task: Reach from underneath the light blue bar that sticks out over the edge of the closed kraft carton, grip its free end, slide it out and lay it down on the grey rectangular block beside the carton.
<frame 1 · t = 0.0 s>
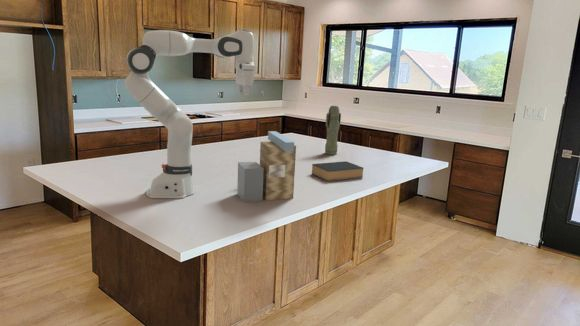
hand: (243, 94, 211), 48 cm above the table, tool pointing down, fingers open, 8 cm apart
carton: (275, 195, 215), on the table
light blue bar: (280, 144, 206), point 26 cm above the table, touching carton
book: (336, 177, 258), on the table
grey rectangular block: (249, 197, 210), on the table
olive piece: (330, 154, 320), on the table
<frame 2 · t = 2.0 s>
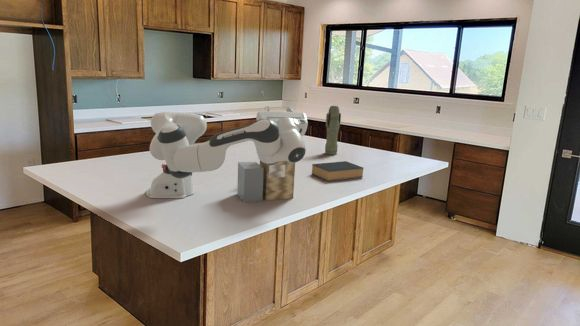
hand: (277, 108, 179), 46 cm above the table, tool pointing upward, fingers open, 8 cm apart
nothing on the table moved.
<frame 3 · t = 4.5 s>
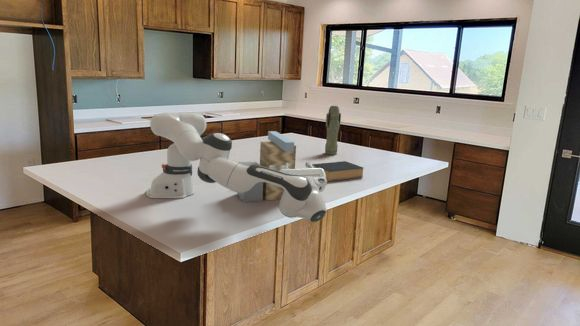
hand: (297, 163, 189), 22 cm above the table, tool pointing upward, fingers open, 8 cm apart
nothing on the table moved.
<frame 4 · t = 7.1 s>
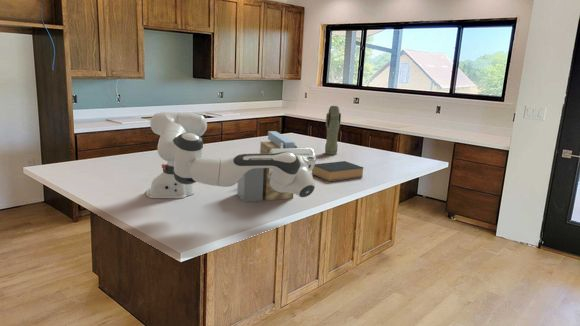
hand: (287, 144, 196), 28 cm above the table, tool pointing upward, fingers closed on light blue bar, 4 cm apart
light blue bar: (280, 144, 206), point 26 cm above the table, touching carton, gripper
everything else where it was.
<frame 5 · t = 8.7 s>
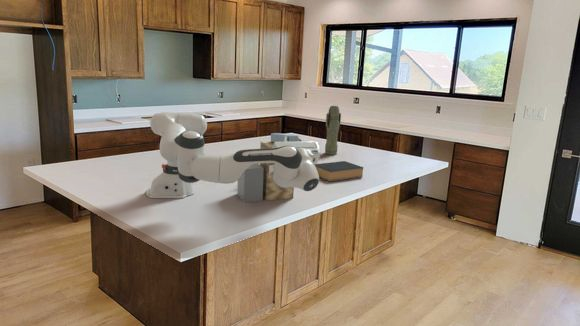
hand: (291, 137, 192), 32 cm above the table, tool pointing upward, fingers closed on light blue bar, 4 cm apart
light blue bar: (283, 143, 202), point 28 cm above the table, tilted 8°, touching gripper
everything else where it was.
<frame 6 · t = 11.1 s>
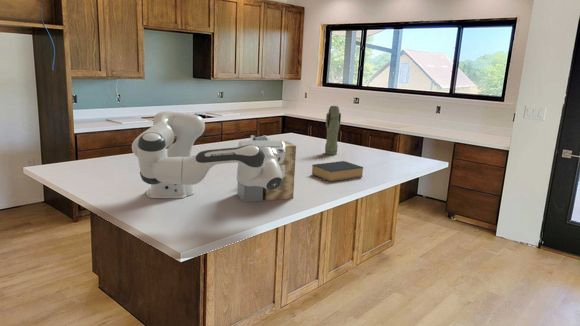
hand: (258, 136, 193), 32 cm above the table, tool pointing upward, fingers closed on light blue bar, 4 cm apart
light blue bar: (253, 154, 201), point 22 cm above the table, tilted 30°, touching grey rectangular block, gripper
everything else where it was.
when the fingers open (20 cm above the table, at t = 14.0 s): light blue bar stays where it is, resting on grey rectangular block.
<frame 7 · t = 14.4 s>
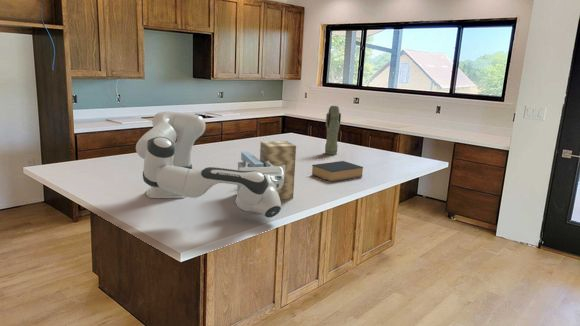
hand: (257, 162, 195), 20 cm above the table, tool pointing upward, fingers open, 8 cm apart
light blue bar: (251, 165, 205), point 16 cm above the table, touching grey rectangular block
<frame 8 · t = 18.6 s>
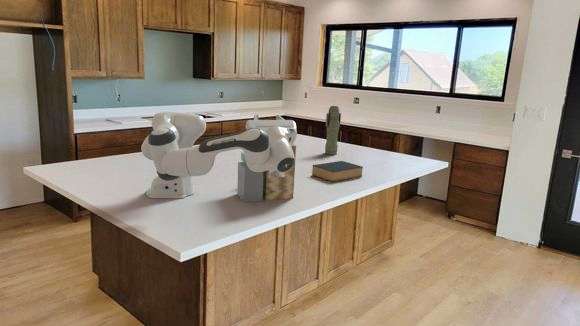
hand: (266, 116, 179), 42 cm above the table, tool pointing upward, fingers open, 8 cm apart
at the end: light blue bar inside the target area on the grey rectangular block (1.3 cm from its centre), point 16.0 cm above the grey rectangular block's base; the gripper is holding nothing; light blue bar tilted 0° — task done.
